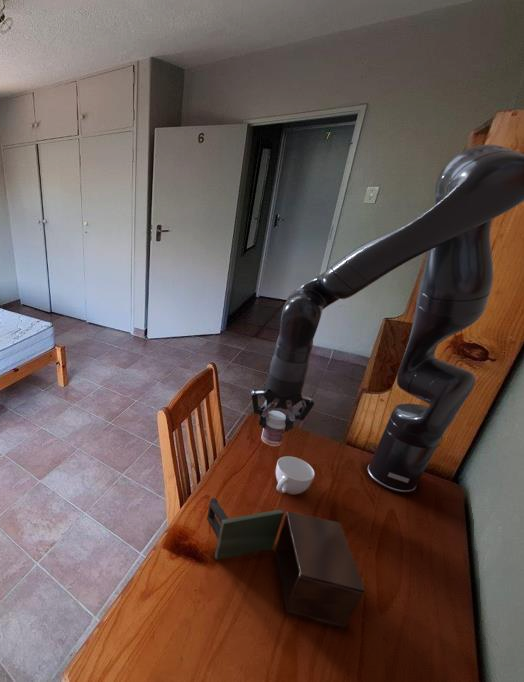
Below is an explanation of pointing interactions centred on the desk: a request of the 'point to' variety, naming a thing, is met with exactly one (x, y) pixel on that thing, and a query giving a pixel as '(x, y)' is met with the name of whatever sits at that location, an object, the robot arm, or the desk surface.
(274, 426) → the pill bottle
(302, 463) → the cup
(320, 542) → the cupboard
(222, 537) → the cupboard door
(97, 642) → the desk surface
